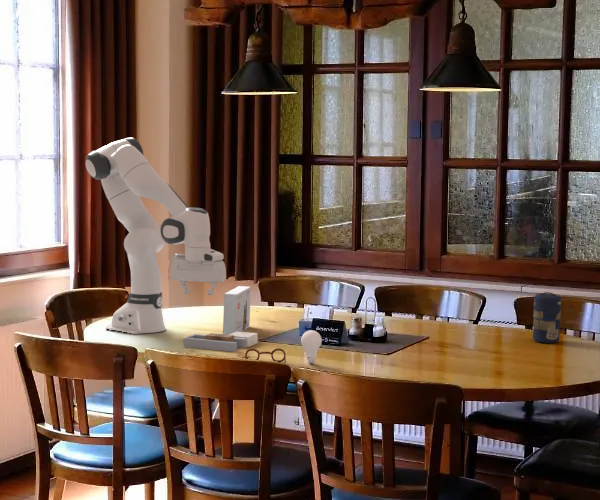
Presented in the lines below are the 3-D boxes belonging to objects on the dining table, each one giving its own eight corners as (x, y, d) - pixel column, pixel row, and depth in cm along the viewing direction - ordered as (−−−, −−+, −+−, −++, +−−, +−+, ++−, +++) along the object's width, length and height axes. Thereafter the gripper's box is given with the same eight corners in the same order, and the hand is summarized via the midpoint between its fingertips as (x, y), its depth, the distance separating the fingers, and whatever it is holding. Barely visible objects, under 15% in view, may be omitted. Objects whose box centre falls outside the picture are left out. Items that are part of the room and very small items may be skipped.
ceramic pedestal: (227, 345, 360) (227, 335, 360) (237, 341, 367) (237, 331, 367) (247, 347, 357) (247, 337, 357) (257, 342, 364) (257, 333, 364)
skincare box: (236, 337, 374) (236, 294, 372) (222, 336, 375) (222, 293, 374) (251, 326, 395) (251, 285, 393) (237, 326, 396) (237, 285, 394)
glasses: (285, 363, 335) (285, 347, 334) (287, 372, 322) (287, 356, 321) (245, 363, 334) (245, 348, 333) (244, 372, 321) (244, 356, 321)
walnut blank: (205, 348, 356) (205, 335, 355) (210, 345, 360) (210, 333, 359) (228, 350, 353) (228, 337, 352) (234, 348, 356) (234, 335, 356)
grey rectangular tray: (183, 346, 357) (183, 338, 357) (194, 342, 364) (194, 334, 364) (235, 351, 349) (235, 343, 349) (245, 347, 357) (245, 338, 356)
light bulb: (296, 363, 332) (296, 330, 330) (311, 360, 336) (311, 327, 335) (311, 367, 327) (311, 333, 326) (325, 364, 332) (326, 330, 330)
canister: (537, 338, 377) (539, 289, 375) (563, 340, 372) (564, 291, 370) (529, 342, 369) (530, 292, 367) (555, 345, 364) (556, 295, 362)
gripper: (167, 254, 357) (168, 293, 359) (219, 256, 349) (219, 297, 351) (176, 252, 363) (177, 291, 364) (227, 254, 355) (228, 294, 356)
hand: (198, 294), depth 357 cm, fingers open, 8 cm apart
